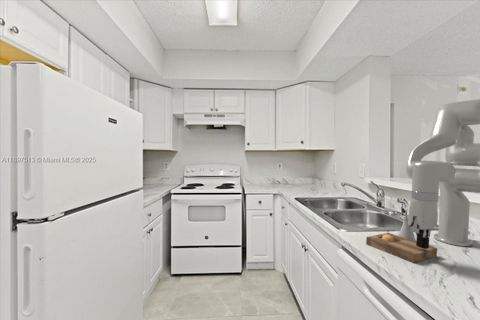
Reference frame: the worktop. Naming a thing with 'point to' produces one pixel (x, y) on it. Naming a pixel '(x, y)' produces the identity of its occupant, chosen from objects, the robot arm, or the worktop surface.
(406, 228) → the flask
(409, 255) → the board
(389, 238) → the ball
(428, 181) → the robot arm
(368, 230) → the worktop surface
